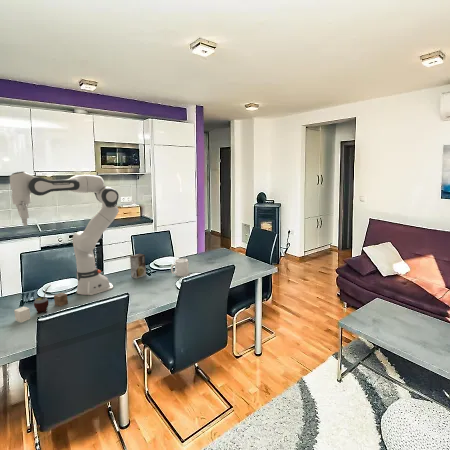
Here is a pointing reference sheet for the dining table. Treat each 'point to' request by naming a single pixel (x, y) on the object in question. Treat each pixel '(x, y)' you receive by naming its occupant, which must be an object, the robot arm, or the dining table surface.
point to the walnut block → (60, 299)
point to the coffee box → (138, 265)
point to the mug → (180, 267)
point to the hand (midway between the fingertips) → (24, 224)
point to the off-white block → (22, 314)
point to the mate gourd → (41, 303)
